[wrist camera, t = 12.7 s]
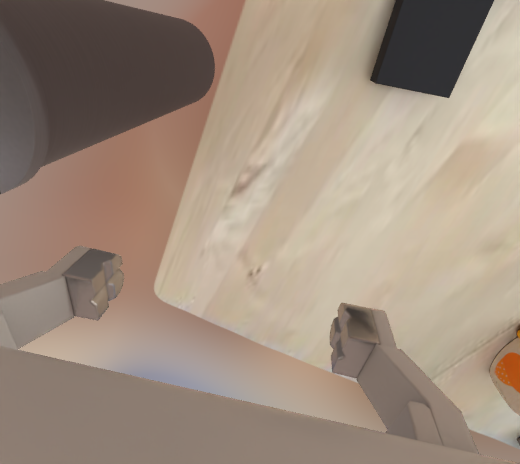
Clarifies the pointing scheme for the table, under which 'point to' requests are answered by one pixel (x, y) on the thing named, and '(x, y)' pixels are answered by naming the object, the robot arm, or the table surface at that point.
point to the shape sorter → (508, 374)
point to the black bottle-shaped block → (429, 44)
